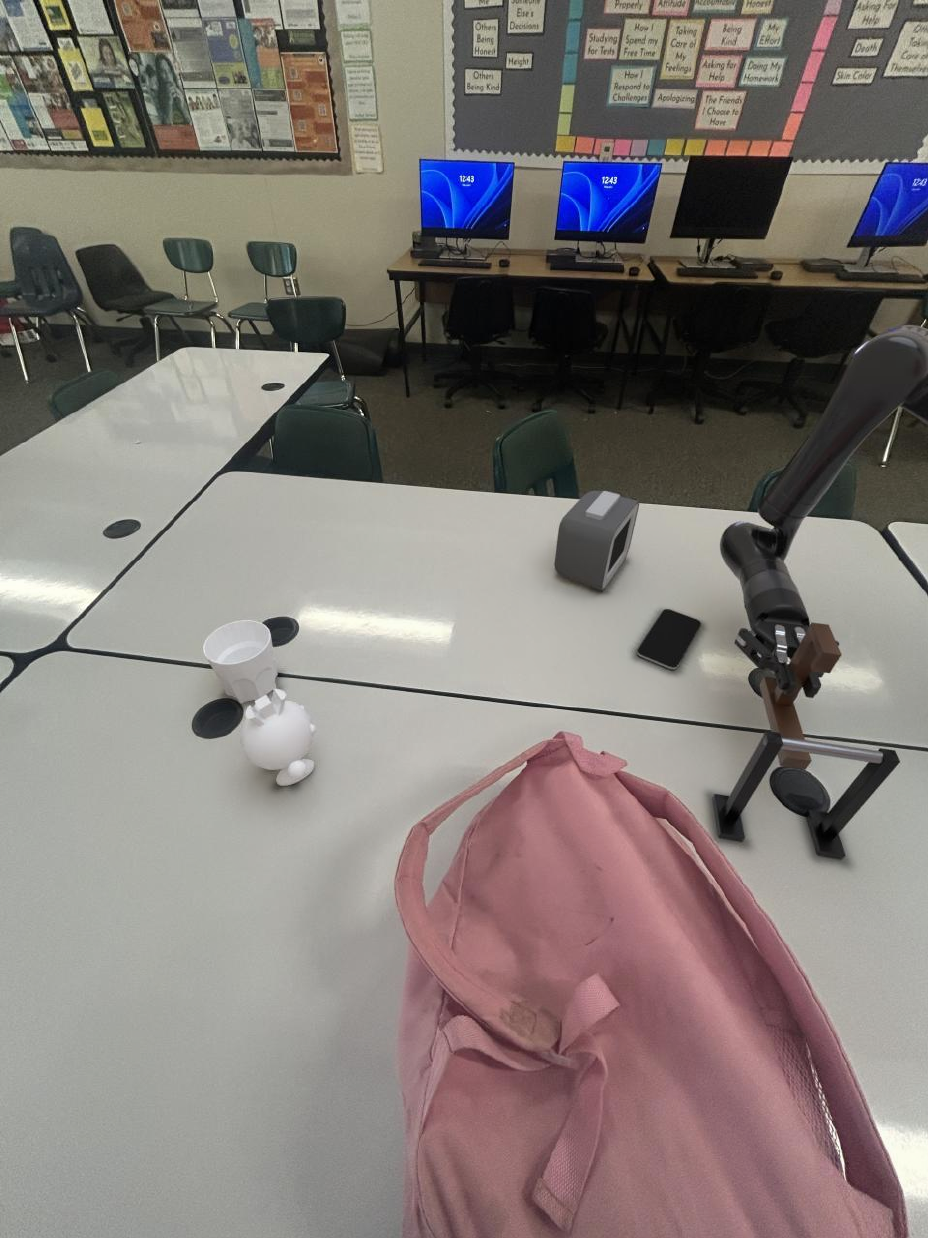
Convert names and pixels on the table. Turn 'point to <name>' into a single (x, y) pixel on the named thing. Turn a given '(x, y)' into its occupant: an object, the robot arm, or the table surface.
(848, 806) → the rack
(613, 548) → the alarm clock
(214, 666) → the cup
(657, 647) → the smartphone
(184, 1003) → the table surface
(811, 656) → the hanger
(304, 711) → the toy robot
